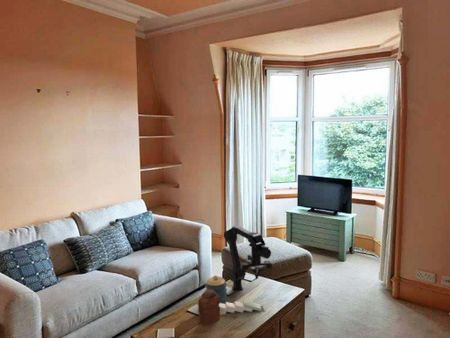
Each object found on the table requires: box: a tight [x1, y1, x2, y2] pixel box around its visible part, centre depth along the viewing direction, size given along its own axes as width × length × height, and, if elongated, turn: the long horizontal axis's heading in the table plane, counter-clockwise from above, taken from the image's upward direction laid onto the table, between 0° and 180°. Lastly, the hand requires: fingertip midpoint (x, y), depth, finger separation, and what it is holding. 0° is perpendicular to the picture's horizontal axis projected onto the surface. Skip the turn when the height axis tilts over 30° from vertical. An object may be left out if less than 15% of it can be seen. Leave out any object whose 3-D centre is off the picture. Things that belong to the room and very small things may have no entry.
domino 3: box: [233, 301, 252, 312], centre depth 200 cm, size 5×2×10 cm
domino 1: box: [219, 303, 234, 313], centre depth 199 cm, size 5×2×10 cm
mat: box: [222, 305, 266, 316], centre depth 201 cm, size 7×24×1 cm, turn 96°
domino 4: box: [242, 300, 261, 311], centre depth 201 cm, size 5×2×10 cm
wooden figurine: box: [197, 289, 221, 326], centre depth 189 cm, size 12×6×18 cm, turn 125°
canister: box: [204, 275, 228, 304], centre depth 210 cm, size 13×13×18 cm
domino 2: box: [225, 301, 243, 313], centre depth 200 cm, size 5×2×10 cm
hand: (256, 278), depth 214 cm, fingers closed
